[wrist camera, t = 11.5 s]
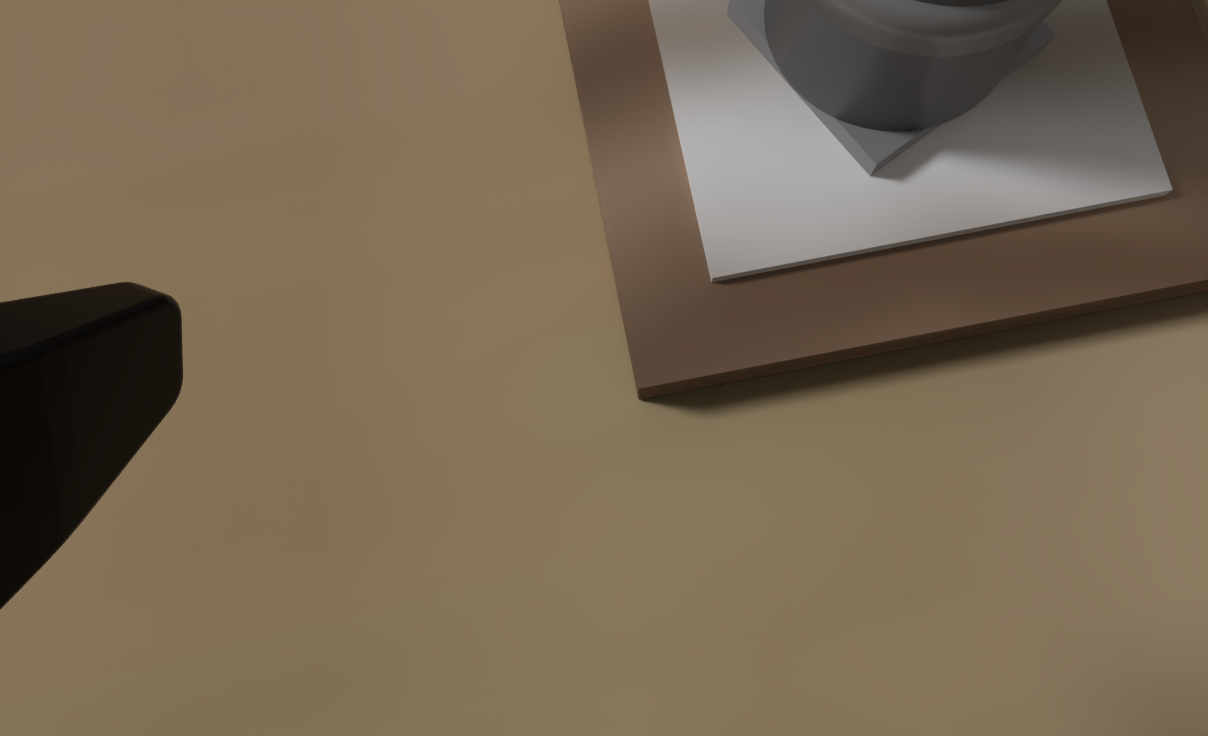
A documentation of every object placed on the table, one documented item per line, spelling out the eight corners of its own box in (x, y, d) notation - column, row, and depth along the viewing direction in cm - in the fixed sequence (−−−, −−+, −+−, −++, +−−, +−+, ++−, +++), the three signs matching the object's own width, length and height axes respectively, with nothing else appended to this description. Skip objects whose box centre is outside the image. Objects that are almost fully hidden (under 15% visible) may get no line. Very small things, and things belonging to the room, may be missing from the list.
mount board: (1253, 281, 22) (1297, 259, 20) (638, 399, 22) (638, 385, 20) (1068, -227, 25) (1095, -279, 24) (534, -125, 25) (527, -170, 23)
